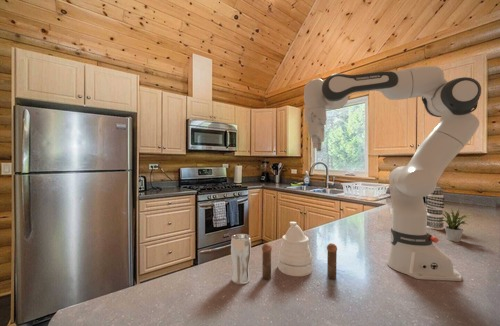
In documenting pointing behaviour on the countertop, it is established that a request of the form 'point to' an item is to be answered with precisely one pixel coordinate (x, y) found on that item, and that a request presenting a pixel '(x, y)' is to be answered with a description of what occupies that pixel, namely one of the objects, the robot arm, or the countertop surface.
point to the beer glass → (241, 258)
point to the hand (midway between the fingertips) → (317, 149)
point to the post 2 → (331, 261)
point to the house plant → (454, 226)
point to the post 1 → (266, 262)
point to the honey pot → (295, 253)
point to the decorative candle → (435, 209)
